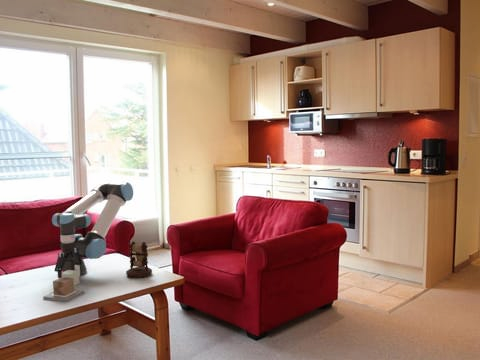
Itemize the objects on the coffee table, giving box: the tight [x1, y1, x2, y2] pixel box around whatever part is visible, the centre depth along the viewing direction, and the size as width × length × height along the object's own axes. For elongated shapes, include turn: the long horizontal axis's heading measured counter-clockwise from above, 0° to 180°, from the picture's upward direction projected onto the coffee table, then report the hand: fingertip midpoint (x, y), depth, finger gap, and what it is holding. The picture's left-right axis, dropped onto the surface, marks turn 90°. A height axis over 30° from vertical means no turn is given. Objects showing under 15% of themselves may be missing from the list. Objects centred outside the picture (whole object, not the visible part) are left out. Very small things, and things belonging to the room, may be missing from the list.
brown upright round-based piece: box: [125, 240, 153, 279], centre depth 273 cm, size 15×15×20 cm
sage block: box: [63, 270, 80, 286], centre depth 258 cm, size 7×7×7 cm
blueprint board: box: [42, 288, 85, 303], centre depth 239 cm, size 14×14×2 cm
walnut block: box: [52, 277, 75, 296], centre depth 238 cm, size 7×7×7 cm
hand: (69, 279), depth 258 cm, fingers open, 13 cm apart
